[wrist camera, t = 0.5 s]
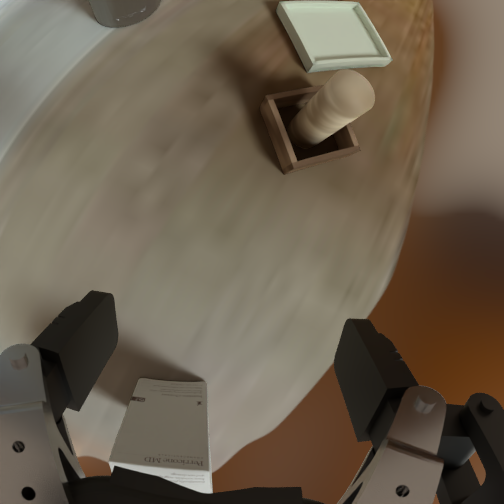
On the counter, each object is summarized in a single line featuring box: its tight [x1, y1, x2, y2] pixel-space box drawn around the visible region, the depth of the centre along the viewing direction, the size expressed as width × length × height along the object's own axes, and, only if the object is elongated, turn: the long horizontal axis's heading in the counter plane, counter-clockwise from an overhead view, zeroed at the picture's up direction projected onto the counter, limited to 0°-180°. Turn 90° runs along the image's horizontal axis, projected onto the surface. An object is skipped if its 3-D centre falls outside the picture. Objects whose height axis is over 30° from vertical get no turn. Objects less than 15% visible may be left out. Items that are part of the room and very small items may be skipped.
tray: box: [276, 1, 392, 73], centre depth 31 cm, size 11×13×2 cm
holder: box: [259, 85, 361, 175], centre depth 30 cm, size 8×8×4 cm
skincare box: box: [108, 378, 212, 493], centre depth 24 cm, size 8×6×15 cm
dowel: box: [287, 69, 375, 149], centre depth 26 cm, size 4×4×12 cm
